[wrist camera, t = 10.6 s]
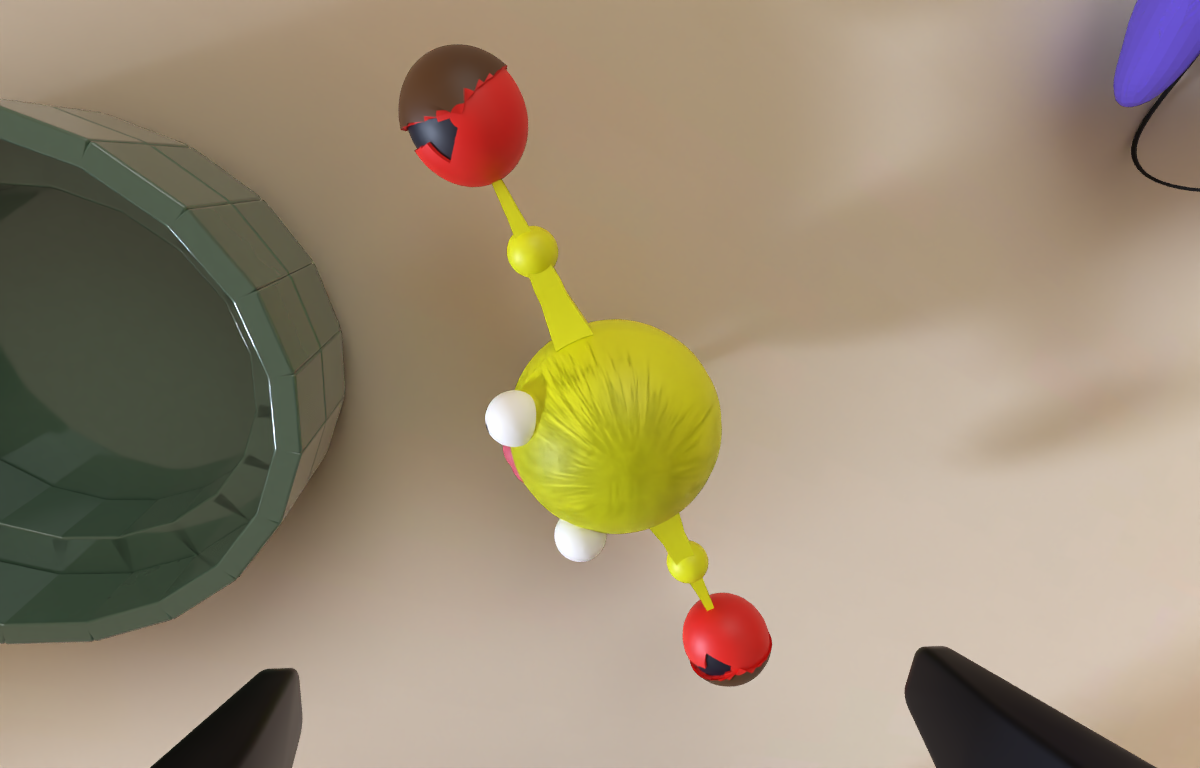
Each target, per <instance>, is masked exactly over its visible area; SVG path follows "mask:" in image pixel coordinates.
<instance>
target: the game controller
mask: <svg viewBox="0 0 1200 768" xmlns="http://www.w3.org/2000/svg"><path fill="white" fill-rule="evenodd" d="M1199 55H1200V0H1138V1H1137V3H1136V5H1135V7H1134V10H1133V12H1132V15H1131V18H1130V20H1129V23H1128V27H1127V31H1126V34H1125V38H1124V42H1123V45H1122V49H1121V53H1120V56H1119V60H1118V63H1117V67H1116V71H1115V76H1114V85H1113V86H1114V95H1115V99H1116V101H1117V102H1118V103H1119V104H1120V105H1121V106H1124V107H1134V106H1138V105H1141V104H1143V103H1145V102H1148V101H1150V100H1151V99H1153V98H1155V97H1156V96H1158V95H1159V94H1161V93H1162V92H1163V91H1164V90H1165V91H1164V92H1163V93H1162V95H1161V96H1160V97H1159V98H1158V100H1157V101H1156V102H1155V104H1154V105H1153V106H1152V108H1151V109H1150V111H1149V112H1148V114H1147V115H1146V116H1145V118H1144V119H1143V121H1142V123H1141V125H1140V126H1139V128H1138V130H1137V132H1136V134H1135V137H1134V139H1133V142H1132V147H1131V155H1132V160H1133V162H1134V165H1135V166H1136V167H1137V169H1138V170H1139V171H1140V172H1141V173H1142V174H1143V175H1145V176H1146V177H1147V178H1149V179H1151V180H1153V181H1155V182H1157V183H1160V184H1163V185H1166V186H1168V187H1173V188H1177V189H1183V190H1189V191H1199V192H1200V188H1190V187H1183V186H1178V185H1173V184H1170V183H1166V182H1163V181H1161V180H1158V179H1156V178H1154V177H1152V176H1151V175H1149V174H1148V173H1146V172H1145V171H1144V170H1143V169H1142V167H1141V166H1140V164H1139V162H1138V159H1137V144H1138V140H1139V137H1140V135H1141V133H1142V131H1143V129H1144V127H1145V125H1146V124H1147V122H1148V120H1149V119H1150V117H1151V116H1152V114H1153V113H1154V111H1155V110H1156V109H1157V107H1158V106H1159V105H1160V103H1161V102H1162V101H1163V99H1164V98H1165V97H1166V96H1167V94H1168V93H1169V92H1170V91H1171V89H1172V88H1173V87H1174V86H1175V84H1176V83H1177V82H1178V81H1179V79H1180V78H1181V77H1182V76H1183V74H1184V73H1185V72H1186V71H1187V70H1188V68H1189V67H1190V66H1191V65H1192V63H1193V62H1194V61H1195V60H1196V58H1197V57H1198V56H1199Z"/></svg>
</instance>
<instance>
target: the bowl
mask: <svg viewBox="0 0 1200 768" xmlns="http://www.w3.org/2000/svg"><path fill="white" fill-rule="evenodd" d="M312 263H313V262H312V259H311V258H310V257H309V256H308V254H307V253H306V252H305V251H304V249H303V248H302V247H301V246H300V244H299V243H298V242H297V241H296V239H295V238H294V237H293V236H292V234H291V233H290V232H289V231H288V229H287V228H286V227H285V226H284V224H283V223H282V222H281V221H280V219H279V218H278V217H277V216H276V214H275V213H274V212H273V211H272V209H271V208H270V207H269V206H268V204H267V203H266V202H265V201H264V200H261V198H260V197H259V196H258V195H257V194H256V193H254V192H253V191H251V190H250V189H249V188H247V187H246V186H245V185H243V184H242V183H240V182H239V181H238V180H236V179H235V178H234V177H232V176H231V175H229V174H228V173H227V172H225V171H224V170H223V169H221V168H220V167H219V166H217V165H216V164H214V163H213V162H212V161H210V160H209V159H208V158H206V157H205V156H203V155H202V154H201V153H199V152H198V151H197V150H195V149H193V148H189V146H188V145H186V144H184V143H181V142H179V141H176V140H174V139H171V138H168V137H166V136H163V135H161V134H158V133H155V132H153V131H150V130H148V129H145V128H142V127H140V126H137V125H135V124H132V123H129V122H127V121H124V120H122V119H119V118H117V117H114V116H111V115H109V114H103V113H100V112H95V111H88V110H80V109H73V108H65V107H58V106H50V105H42V104H36V103H29V102H21V101H14V100H6V99H0V644H3V643H6V644H31V643H64V642H92V641H94V640H95V641H98V640H102V639H105V638H109V637H112V636H116V635H119V634H123V633H127V632H130V631H134V630H137V629H141V628H144V627H148V626H151V625H155V624H159V623H162V622H166V621H169V620H172V619H175V618H177V617H178V616H180V615H182V614H183V613H185V612H186V611H188V610H189V609H191V608H193V607H194V606H196V605H197V604H199V603H201V602H202V601H204V600H205V599H207V598H208V597H210V596H212V595H213V594H215V593H216V592H218V591H220V590H221V589H223V588H224V587H226V586H227V585H229V584H231V583H232V582H234V581H235V580H236V579H237V578H238V577H240V575H241V574H242V573H243V572H244V570H245V569H246V568H247V567H248V565H249V564H250V563H251V561H252V560H253V559H254V558H255V556H256V555H257V554H258V553H259V551H260V550H261V549H262V548H263V546H264V545H265V544H266V542H267V541H268V540H269V539H270V537H271V536H272V535H273V534H274V532H275V531H276V530H277V528H278V527H279V526H280V525H281V523H282V522H283V520H284V518H285V517H286V515H287V514H288V512H289V511H290V509H291V508H292V506H293V504H294V503H295V501H296V500H297V498H298V497H299V495H300V494H301V492H302V491H303V489H304V487H305V486H306V484H307V483H308V481H309V480H310V478H311V477H312V475H313V473H314V472H315V470H316V469H317V467H318V466H319V464H320V463H321V461H322V459H323V458H324V456H325V454H326V453H327V451H328V448H329V445H330V442H331V439H332V436H333V432H334V429H335V426H336V423H337V419H338V416H339V413H340V410H341V406H342V403H343V400H344V395H345V383H344V365H343V348H342V332H341V330H340V326H339V323H338V321H337V318H336V316H335V313H334V311H333V308H332V306H331V304H330V301H329V299H328V296H327V294H326V291H325V289H324V286H323V284H322V281H321V279H320V276H319V274H318V271H317V269H316V266H315V265H314V264H312Z"/></svg>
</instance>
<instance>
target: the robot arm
mask: <svg viewBox="0 0 1200 768" xmlns="http://www.w3.org/2000/svg"><path fill="white" fill-rule="evenodd" d="M905 699H906V703H907V706H908V708H909V711H910V713H911V715H912V717H913V719H914V721H915V723H916V725H917V728H918V730H919V732H920V734H921V736H922V738H923V740H924V743H925V745H926V747H927V749H928V751H929V753H930V755H931V757H932V760H933V762H934V764H935V766H936V768H1156V767H1154V766H1153V765H1151V764H1149V763H1147V762H1146V761H1144V760H1142V759H1141V758H1139V757H1137V756H1135V755H1134V754H1132V753H1130V752H1128V751H1127V750H1125V749H1123V748H1121V747H1120V746H1118V745H1116V744H1115V743H1113V742H1111V741H1109V740H1108V739H1106V738H1104V737H1102V736H1101V735H1099V734H1097V733H1096V732H1094V731H1092V730H1090V729H1089V728H1087V727H1085V726H1083V725H1082V724H1080V723H1078V722H1076V721H1075V720H1073V719H1071V718H1070V717H1068V716H1066V715H1064V714H1063V713H1061V712H1059V711H1057V710H1056V709H1054V708H1052V707H1050V706H1049V705H1047V704H1045V703H1044V702H1042V701H1040V700H1038V699H1037V698H1035V697H1033V696H1031V695H1030V694H1028V693H1026V692H1025V691H1023V690H1021V689H1019V688H1018V687H1016V686H1014V685H1012V684H1011V683H1009V682H1007V681H1005V680H1004V679H1002V678H1000V677H999V676H997V675H995V674H993V673H992V672H990V671H988V670H986V669H985V668H983V667H981V666H980V665H978V664H976V663H974V662H973V661H971V660H969V659H967V658H966V657H964V656H962V655H960V654H959V653H957V652H955V651H954V650H952V649H950V648H948V647H944V646H931V647H921V648H919V649H918V650H917V651H916V653H915V656H914V659H913V662H912V666H911V669H910V672H909V675H908V679H907V682H906V685H905ZM301 729H302V705H301V693H300V682H299V675H298V673H297V671H296V670H295V669H293V668H280V669H266V670H263V671H261V672H259V673H258V674H257V675H256V676H255V677H253V678H252V679H251V680H250V681H249V682H248V683H247V684H245V685H244V686H243V687H242V688H241V689H240V690H239V691H237V692H236V693H235V694H234V695H233V696H232V697H230V698H229V699H228V700H227V701H226V702H225V703H224V704H222V705H221V706H220V707H219V708H218V709H217V710H216V711H214V712H213V713H212V714H211V715H210V716H209V717H208V718H206V719H205V720H204V721H203V722H202V723H201V724H200V725H198V726H197V727H196V728H195V729H194V730H193V731H192V732H190V733H189V734H188V735H187V736H186V737H185V738H184V739H182V740H181V741H180V742H179V743H178V744H177V745H176V746H174V747H173V748H172V749H171V750H170V751H169V752H167V753H166V754H165V755H164V756H163V757H162V758H161V759H159V760H158V761H157V762H156V763H155V764H154V765H153V766H151V767H150V768H292V765H293V761H294V758H295V754H296V750H297V746H298V742H299V739H300V734H301Z"/></svg>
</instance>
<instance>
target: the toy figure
mask: <svg viewBox="0 0 1200 768" xmlns="http://www.w3.org/2000/svg"><path fill="white" fill-rule="evenodd" d="M506 69H507V65H505V64H504V63H503V62H502V61H501V60H499V59H498V58H497V57H495V56H494V55H492V54H490V53H488V52H486V51H484V50H482V49H479V48H476V47H473V46H468V45H447V46H442V47H439V48H436V49H434V50H432V51H430V52H428V53H427V54H425V55H424V56H422V57H421V58H420V59H419V60H418V61H417V62H416V63H415V64H414V65H413V66H412V68H411V69H410V71H409V72H408V74H407V76H406V78H405V80H404V83H403V85H402V88H401V92H400V98H399V122H400V128H401V130H404V131H407V130H409V133H410V136H411V138H412V140H413V142H414V144H415V146H416V148H417V149H416V150H414V151H415V152H416V154H417V155H418V156H419V158H420V159H421V160H422V161H423V163H424V164H425V165H426V166H427V167H428V168H429V169H430V170H432V171H433V172H434V173H435V174H437V175H438V176H440V177H441V178H443V179H445V180H447V181H449V182H452V183H454V184H457V185H461V186H467V187H481V186H486V185H490V184H492V185H493V188H494V190H495V192H496V194H497V197H498V199H499V201H500V203H501V206H502V208H503V210H504V212H505V215H506V217H507V219H508V221H509V224H510V227H511V230H512V232H513V235H512V236H511V238H510V240H509V242H508V245H507V257H508V260H509V263H510V265H511V266H512V268H513V269H514V270H515V271H516V272H517V273H519V274H520V275H522V276H525V277H528V278H530V281H531V284H532V286H533V289H534V292H535V294H536V296H537V298H538V300H539V302H540V304H541V307H542V310H543V313H544V317H545V320H546V323H547V326H548V329H549V333H550V336H551V339H552V340H551V341H550V342H548V343H547V344H546V345H545V346H544V347H543V348H541V349H540V350H539V351H538V352H537V353H536V355H535V356H534V357H533V358H532V359H531V360H530V362H529V363H528V364H527V366H526V367H525V369H524V371H523V372H522V374H521V376H520V378H519V380H518V382H517V385H516V387H515V390H510V391H505V392H503V393H501V394H499V395H497V396H496V397H495V398H494V399H493V400H492V401H491V402H490V404H489V406H488V408H487V411H486V415H485V422H486V427H487V430H488V432H489V434H490V435H491V436H492V438H493V439H494V440H495V441H497V442H498V443H500V444H502V445H503V452H504V456H505V458H506V460H507V462H508V463H509V464H510V465H511V466H512V470H513V472H514V474H515V475H516V476H517V478H518V479H519V480H520V481H522V482H523V483H524V484H525V485H526V487H527V488H528V489H529V491H530V492H531V493H532V494H533V495H534V497H535V498H536V499H537V500H538V501H539V502H540V503H541V504H542V505H543V506H544V507H545V508H546V509H547V510H548V511H549V512H551V513H552V514H553V515H555V516H556V517H558V518H560V519H559V521H558V523H557V525H556V528H555V536H554V537H555V543H556V546H557V548H558V550H559V551H560V552H561V554H562V555H563V556H565V557H566V558H568V559H570V560H572V561H575V562H585V561H589V560H591V559H593V558H595V557H596V556H597V555H598V554H599V553H600V552H601V551H602V549H603V548H604V545H605V542H606V537H607V534H625V533H633V532H638V531H642V530H646V529H650V530H651V531H652V532H653V533H654V534H655V536H656V537H657V538H658V539H659V540H660V541H661V543H662V544H663V545H664V547H665V548H666V550H667V552H668V555H667V566H668V570H669V572H670V573H671V575H672V576H673V577H674V578H675V579H677V580H678V581H680V582H683V583H690V585H691V586H692V587H693V589H694V590H695V591H696V593H697V595H698V596H699V598H700V600H699V601H698V602H697V603H696V604H695V605H694V606H693V607H692V608H691V609H690V611H689V613H688V615H687V617H686V619H685V622H684V626H683V643H684V648H685V652H686V654H687V656H688V658H689V659H690V663H691V666H692V668H693V670H694V671H695V672H696V673H697V675H699V676H700V677H701V678H703V679H705V680H706V681H708V682H710V683H712V684H715V685H720V686H738V685H742V684H745V683H747V682H749V681H751V680H752V679H754V678H755V677H756V676H757V675H758V674H759V673H760V672H761V671H762V670H763V668H764V667H765V665H766V664H767V662H768V660H769V657H770V653H771V648H772V640H771V636H770V634H769V632H768V629H767V626H766V624H765V621H764V619H763V617H762V616H761V614H760V613H759V612H758V610H757V609H756V608H755V607H754V606H753V605H752V604H751V603H749V602H748V601H747V600H745V599H744V598H742V597H740V596H737V595H733V594H730V593H715V594H711V595H709V593H708V591H707V589H706V586H705V583H704V581H703V578H702V577H703V576H704V575H705V573H706V571H707V569H708V557H707V554H706V552H705V550H704V549H703V548H702V546H700V545H699V544H698V543H696V542H693V541H689V540H688V538H687V536H686V534H685V532H684V529H683V525H682V522H681V518H680V514H679V512H681V511H682V510H683V509H684V508H685V507H687V506H688V505H689V504H690V503H691V502H692V501H693V500H694V498H695V497H696V496H697V495H698V494H699V492H700V491H701V490H702V488H703V487H704V485H705V483H706V482H707V480H708V478H709V476H710V474H711V472H712V470H713V468H714V465H715V463H716V460H717V457H718V454H719V450H720V444H721V435H722V425H721V411H720V404H719V400H718V396H717V393H716V390H715V388H714V385H713V383H712V381H711V379H710V377H709V376H708V374H707V372H706V371H705V369H704V367H703V366H702V364H701V363H700V361H699V360H698V359H697V357H696V356H695V355H694V354H693V353H692V352H691V351H690V350H689V349H688V348H687V347H686V346H685V345H684V344H682V343H681V342H680V341H678V340H677V339H675V338H674V337H672V336H670V335H669V334H667V333H665V332H663V331H661V330H659V329H657V328H655V327H653V326H650V325H647V324H644V323H640V322H636V321H630V320H620V319H611V320H600V321H594V322H590V323H588V322H587V321H586V319H585V318H584V316H583V315H582V313H581V312H580V310H579V309H578V307H577V306H576V304H575V303H574V302H573V300H572V299H571V297H570V296H569V294H568V293H567V291H566V290H565V288H564V286H563V284H562V281H561V279H560V277H559V276H558V274H557V272H556V270H555V269H554V266H555V264H556V262H557V258H558V246H557V243H556V241H555V239H554V237H553V236H552V235H551V234H550V233H549V232H548V231H547V230H545V229H544V228H541V227H538V226H528V224H527V222H526V221H525V219H524V217H523V216H522V214H521V212H520V211H519V209H518V207H517V205H516V204H515V202H514V200H513V198H512V196H511V195H510V193H509V191H508V189H507V188H506V186H505V184H504V182H503V181H502V178H504V177H505V176H507V175H508V174H509V173H510V172H511V171H512V170H513V169H514V168H515V166H516V165H517V164H518V162H519V160H520V159H521V157H522V154H523V152H524V149H525V146H526V142H527V136H528V116H527V110H526V106H525V103H524V99H523V97H522V94H521V92H520V90H519V88H518V86H517V84H516V83H515V81H514V79H513V78H512V77H511V75H510V74H509V73H508V72H507V70H506Z"/></svg>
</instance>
